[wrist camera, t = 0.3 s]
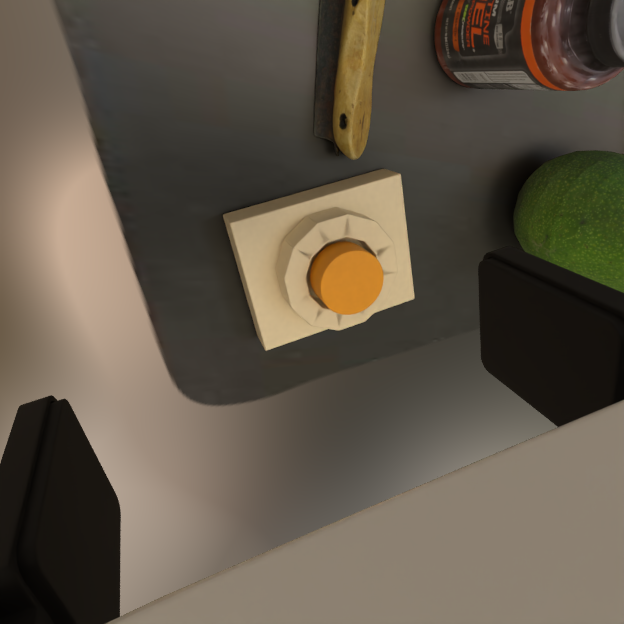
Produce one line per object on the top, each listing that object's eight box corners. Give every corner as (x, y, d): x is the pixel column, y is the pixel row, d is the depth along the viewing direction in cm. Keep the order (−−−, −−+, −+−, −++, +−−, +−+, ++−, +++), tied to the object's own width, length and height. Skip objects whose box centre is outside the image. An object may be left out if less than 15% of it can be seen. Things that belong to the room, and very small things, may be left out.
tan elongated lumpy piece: (346, -137, 25) (407, -139, 24) (318, 150, 30) (366, 157, 29) (322, -171, 22) (390, -175, 21) (295, 154, 27) (348, 162, 26)
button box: (222, 213, 28) (236, 232, 25) (383, 167, 30) (417, 178, 27) (257, 335, 32) (273, 366, 28) (398, 287, 34) (430, 310, 30)
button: (303, 252, 27) (314, 262, 25) (365, 233, 27) (379, 241, 26) (316, 311, 28) (327, 324, 27) (374, 291, 29) (388, 303, 27)
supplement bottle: (443, -44, 26) (631, -120, 17) (532, -17, 29) (744, -70, 19) (418, 80, 29) (571, 77, 19) (502, 97, 31) (679, 102, 21)
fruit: (590, 134, 34) (796, 155, 24) (575, 245, 37) (748, 307, 27) (489, 152, 32) (665, 184, 22) (483, 268, 35) (631, 344, 25)
